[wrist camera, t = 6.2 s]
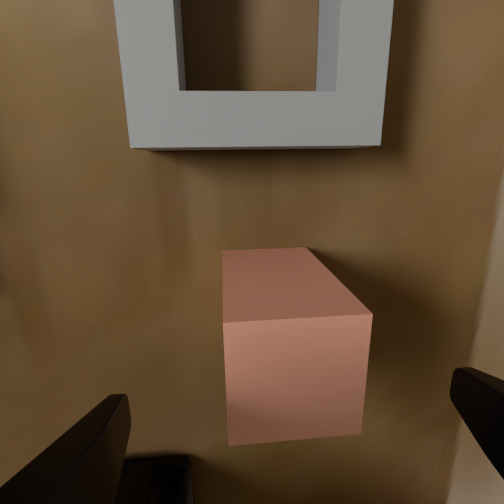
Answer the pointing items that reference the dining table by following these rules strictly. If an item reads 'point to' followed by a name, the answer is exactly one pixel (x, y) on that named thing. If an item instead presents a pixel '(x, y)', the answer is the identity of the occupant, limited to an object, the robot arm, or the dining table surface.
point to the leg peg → (291, 348)
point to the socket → (255, 102)
